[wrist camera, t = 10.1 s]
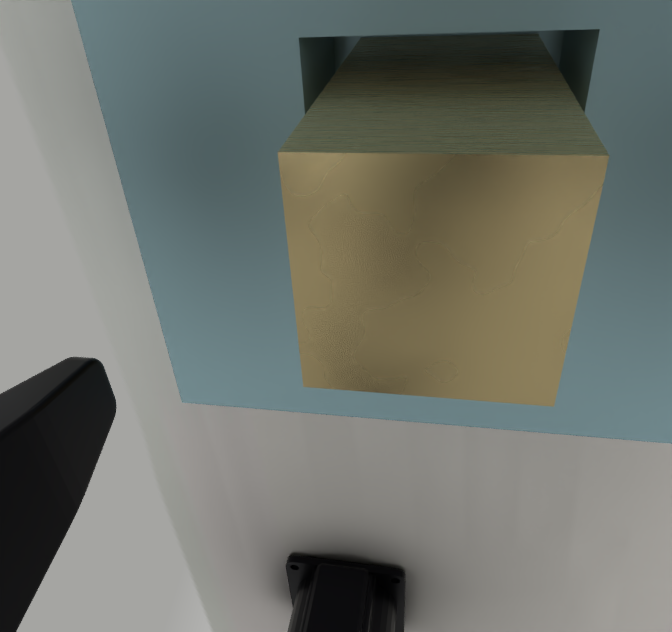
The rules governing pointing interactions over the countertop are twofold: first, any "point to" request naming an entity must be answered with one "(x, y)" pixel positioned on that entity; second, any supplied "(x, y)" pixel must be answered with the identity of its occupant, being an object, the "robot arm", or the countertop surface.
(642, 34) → the hole block
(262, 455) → the countertop surface
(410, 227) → the brass pin
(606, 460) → the countertop surface
